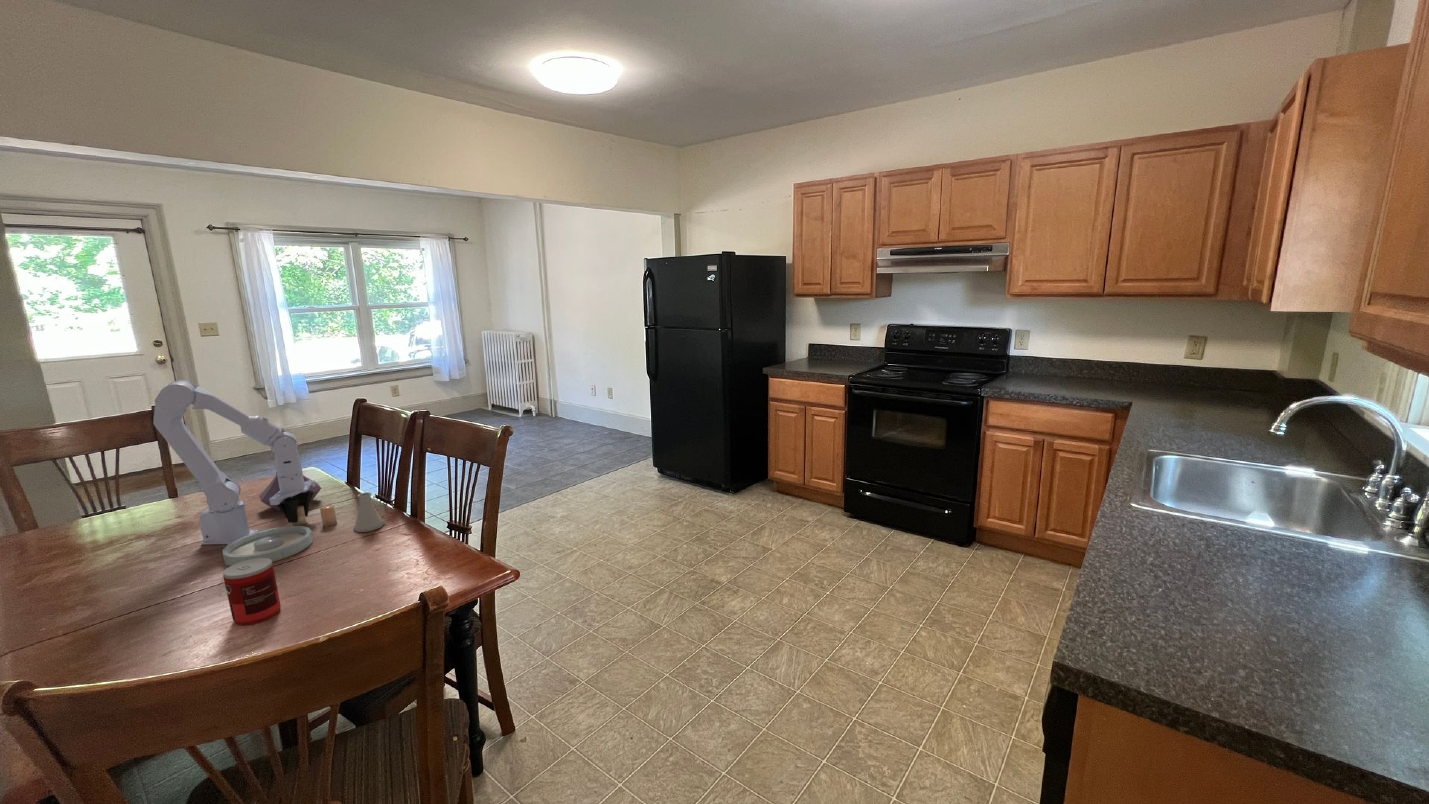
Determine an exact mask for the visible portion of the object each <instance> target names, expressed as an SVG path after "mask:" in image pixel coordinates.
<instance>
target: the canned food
mask: <svg viewBox="0 0 1429 804" xmlns="http://www.w3.org/2000/svg"><path fill="white" fill-rule="evenodd" d="M222 574H223V575H222V577H223V582H224V587H225V592H226V596H227V600H228V604H229V608H230V613H231V617H232V618H231V619H232V621H234V623H235V624H236V625H239V626H249V625H250V626H251V625H256V624H260V623H262V622H265V621H267V620H270V619H272V618H273V617H274V616H276V615H277V614H278V613H279V612H280V610H281V606H282V605H281V599H280V594H279V590H278V585H277V579H276V575H275V574H276V573H275V568H274V564H273V562H272V561H271V559H268V558H256V559H250V560H246V561H242V562H239V563H236V564H234V565H232V566H230V565H229V566H228V567H227V568H225V569H224V570H223V572H222Z"/></svg>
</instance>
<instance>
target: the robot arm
mask: <svg viewBox="0 0 1429 804" xmlns="http://www.w3.org/2000/svg"><path fill="white" fill-rule="evenodd" d="M191 405H192V407H191V409H192V410H208V411H211V412H213V413H214V414H217V415H218V416H220V417H222V418H224V419H226V420H228V421H230V422H232V423H234V424H235V425H237V426H239V427H240V431H241V433H242V434H244V435H245V436H247V437H249V438H251V439H253V440H255V441H256V442H258V443H259V444H261V445H264V446H266V447H270V450H271V452H272V453H274V454H273V455H274V459H275V460H274V466H275V471H276V472H277V477H278V482H279V487H280V491H279V492H278V493H277V494H276V495H274V496H273V497H271V498H269V501H270V505H276V506H277V507H279V508H280V509H281V510H280V511H281V512H282V513H283V515H284V516H285V518H286V520H287V521H288V523H289V524H292V523H296V522H298V515H297V506H300V505H302V506H304V511H305V517H306V518H307V517H308V516H309V509H310V504H311V503H310V500H311V498H312V496H313V491H308V490H309V488H313V487H315V482H316V481H315V480H312V479H311V480H312V481H306V482H304V478H303V475H304V473H303V467H302V462H301V458H300V457H301V456H299V454H300V453H299V450H298V445H299V444H298V439H297V437H296V435H294V433H292V431H289V430H286V428H285V427H279V426H277V425H275V424H274V423H272V422H271V421H269V418H268V417H267V416H263V417H262V416H260V415H251V416H250V415H248V414H246V413H245V412H244V411H242V410H240V409H239V408H237V407H235V406H234V405H232V404H230V403H229V402H227V401H225V400H224V399H223V398H221V397H220V396H218V395H216V394H214V393H213V392H211V391H209V390H207V389H205V388H203V387H201V386H196V385H195V384H194V383H193V382H191V381H188V380H185V379H180V380H179V379H178V380H177V379H176V380H173V381H171V382H170V383H168V384H167V385H166V386H164V387H163V388H161V390H159V393H158V394H157V396H156V397H155V399H154V410H153V411H154V413H153V420H152V421H153V423H152V424H153V426H154V427H155V428H156V430H157V431H158V432H159V434H160V435H161V436H162V437H163V438H164V439H165V440H166V442H167V443H168V445H169V446H170V447H171V449H172V451H174V453H176V455H177V456H178V457H179V458H180V460H181V461H182V463H183V464H184V465H185V466H186V467H187V468H188V470H189V471H190V472H191V474H192V475H193V476H194V478H195V479H196V481H198V482H199V486H200V488H201V490H202V493H203V494H204V495H205V496H206V497H205V498H206V504H207V506H208V508H206V509H204V510H203V511H202V513H200V516H199V519H198V520H199V521H198V523H199V526H200V531H201V537H202V542H200V545H228V544H230V543H232V542H234V541H235V540H237V539H239V538H242V537H245V536H247V535H250V534H253V533H256V532H260V531H259V529H250V526H249V523H248V522H249V521H248V517H247V516H248V515H247V511H246V507H245V503H244V501H242V500H241V499H240V498H239V496H240V495H241V491H242V490H241V489H242V488H241V486H240V484H239V483H238V482H237V481H235V480H233V479H231V478H230V477H228V475H227V474H226V473H224V472H223V471H222V470H220V469H219V467H218V465H217V464H216V463H215V462H214V461H213V459H212V458H211V456H210V455H209V454H208V453H207V451H206V450H205V449H204V448H203V446H202V445H201V444H200V442H199V441H198V440H197V438H196V437H195V436H194V435H193V433H192V432H191V431H190V429H189V428H188V427H187V425H186V424H185V423H184V421H183V418H184V416H185V414H186V412H187V410H188V408H189V407H190V406H191ZM276 472H275V473H276ZM291 497H292V499H291Z"/></svg>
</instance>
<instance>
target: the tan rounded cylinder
mask: <svg viewBox="0 0 1429 804" xmlns="http://www.w3.org/2000/svg"><path fill="white" fill-rule="evenodd" d="M297 515H298V522H296V523H291V526H304V525H306V524H307V517H305V511H304V506H302V505H300V506H297Z"/></svg>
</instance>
